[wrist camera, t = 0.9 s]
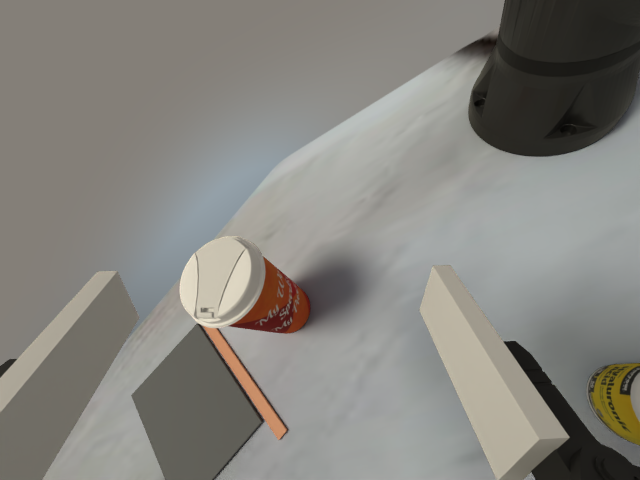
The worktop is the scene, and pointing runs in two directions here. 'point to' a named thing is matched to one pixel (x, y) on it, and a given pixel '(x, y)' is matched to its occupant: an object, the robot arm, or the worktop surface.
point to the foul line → (248, 383)
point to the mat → (194, 411)
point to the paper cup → (241, 289)
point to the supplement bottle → (617, 399)
